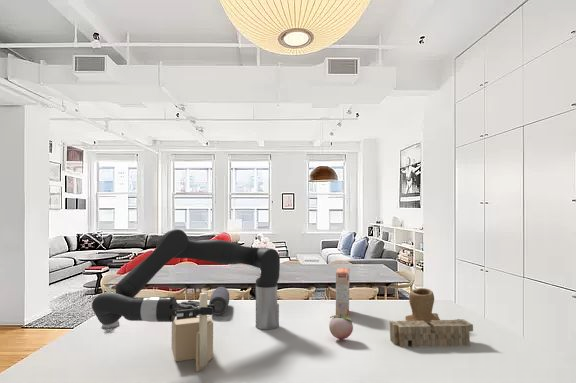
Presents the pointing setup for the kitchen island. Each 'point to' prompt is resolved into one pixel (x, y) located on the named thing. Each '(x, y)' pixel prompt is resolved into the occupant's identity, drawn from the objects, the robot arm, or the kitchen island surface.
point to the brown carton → (185, 337)
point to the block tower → (430, 333)
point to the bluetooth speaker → (220, 300)
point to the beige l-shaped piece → (204, 338)
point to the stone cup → (422, 306)
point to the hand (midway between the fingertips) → (213, 309)
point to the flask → (111, 325)
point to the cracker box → (342, 292)
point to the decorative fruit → (340, 327)
